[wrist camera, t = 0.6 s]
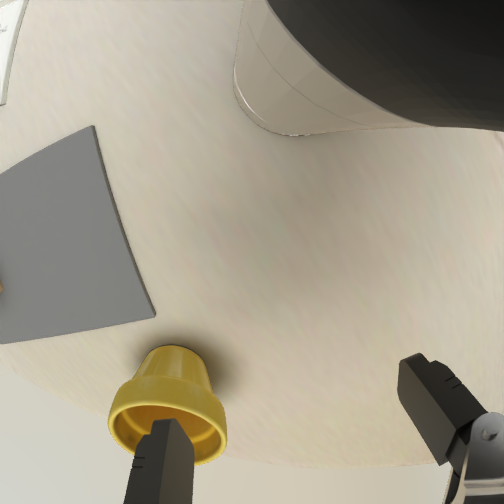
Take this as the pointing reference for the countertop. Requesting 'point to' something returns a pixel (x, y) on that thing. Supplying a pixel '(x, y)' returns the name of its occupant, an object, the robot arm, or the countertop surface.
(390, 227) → the countertop surface
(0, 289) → the block
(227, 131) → the countertop surface
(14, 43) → the external hard drive
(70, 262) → the mat
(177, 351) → the plant pot
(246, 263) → the countertop surface
